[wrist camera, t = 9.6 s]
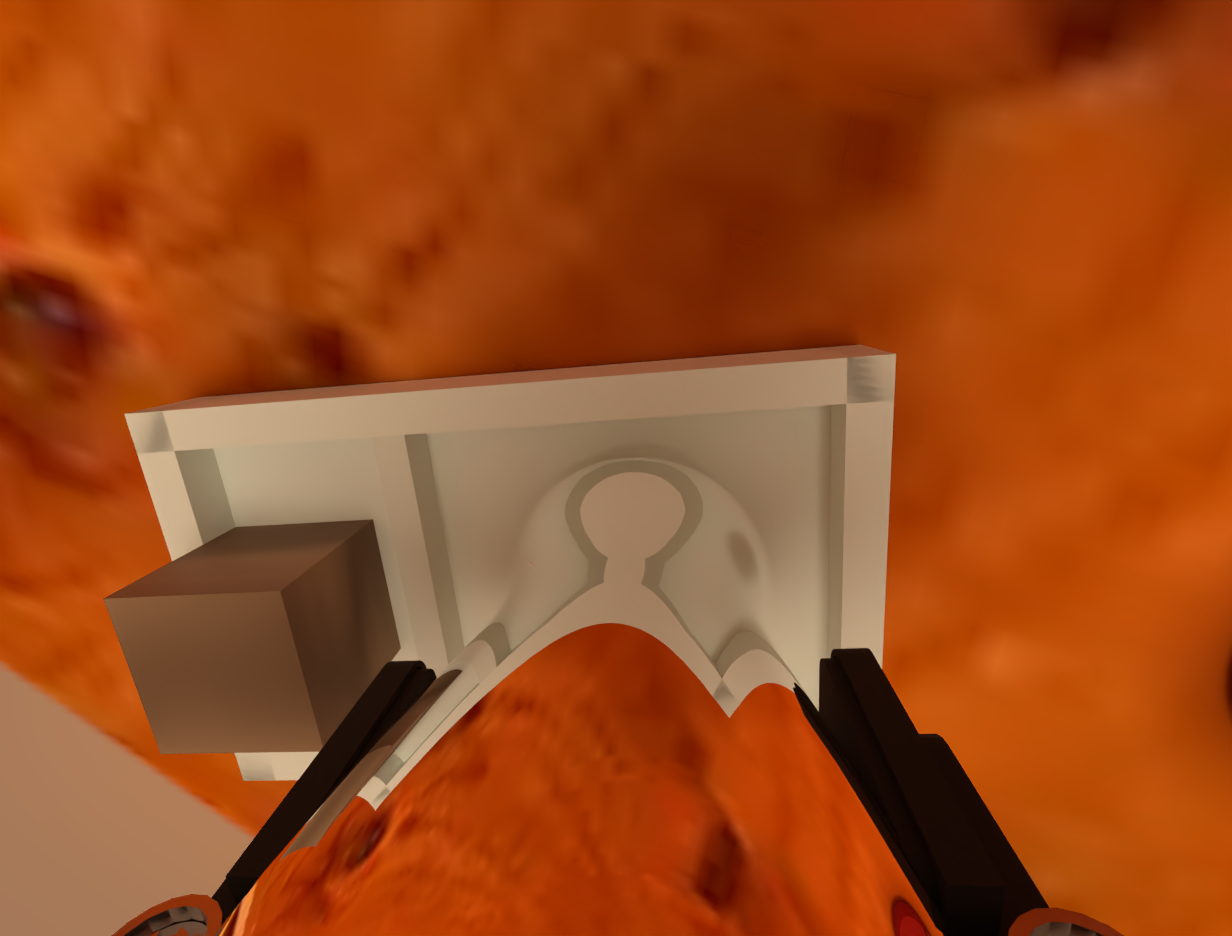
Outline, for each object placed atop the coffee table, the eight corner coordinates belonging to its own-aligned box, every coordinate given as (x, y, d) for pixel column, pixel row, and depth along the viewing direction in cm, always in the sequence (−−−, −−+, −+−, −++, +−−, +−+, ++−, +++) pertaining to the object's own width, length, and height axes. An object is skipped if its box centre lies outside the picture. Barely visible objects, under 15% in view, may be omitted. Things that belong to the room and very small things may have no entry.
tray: (199, 397, 17) (124, 414, 14) (859, 344, 15) (896, 353, 12) (292, 723, 20) (243, 780, 17) (849, 713, 18) (877, 775, 15)
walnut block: (235, 527, 16) (103, 598, 12) (373, 519, 16) (280, 591, 12) (271, 652, 17) (160, 753, 14) (401, 648, 17) (324, 751, 13)
